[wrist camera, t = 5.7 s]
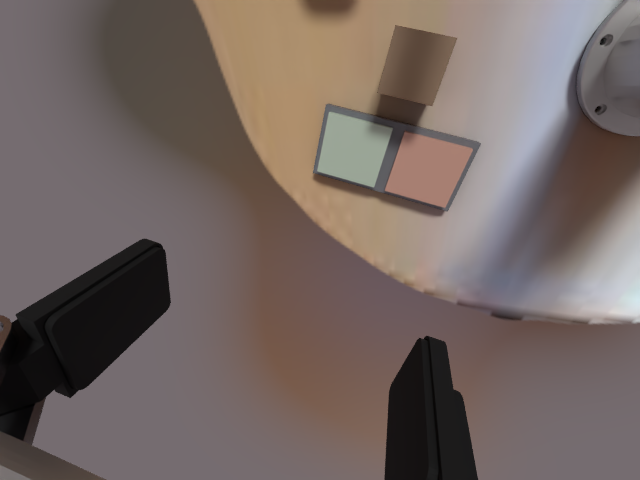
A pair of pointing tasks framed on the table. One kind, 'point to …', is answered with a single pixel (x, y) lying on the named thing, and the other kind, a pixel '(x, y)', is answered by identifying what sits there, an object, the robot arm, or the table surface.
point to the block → (415, 64)
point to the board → (393, 156)
